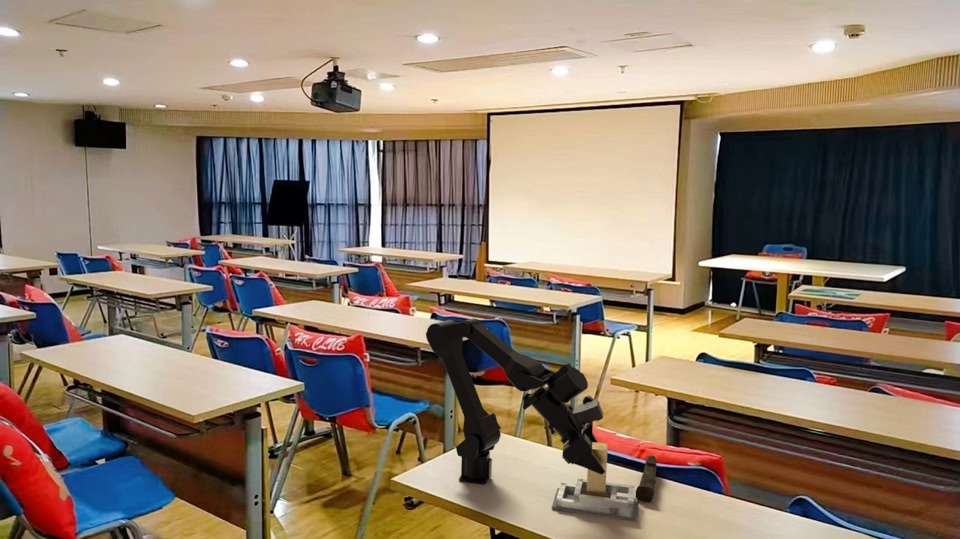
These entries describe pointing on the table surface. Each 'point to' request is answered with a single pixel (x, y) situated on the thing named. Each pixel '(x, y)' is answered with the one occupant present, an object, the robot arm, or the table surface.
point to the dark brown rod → (647, 481)
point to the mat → (618, 513)
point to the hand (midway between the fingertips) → (603, 464)
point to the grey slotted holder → (595, 497)
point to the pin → (596, 480)
